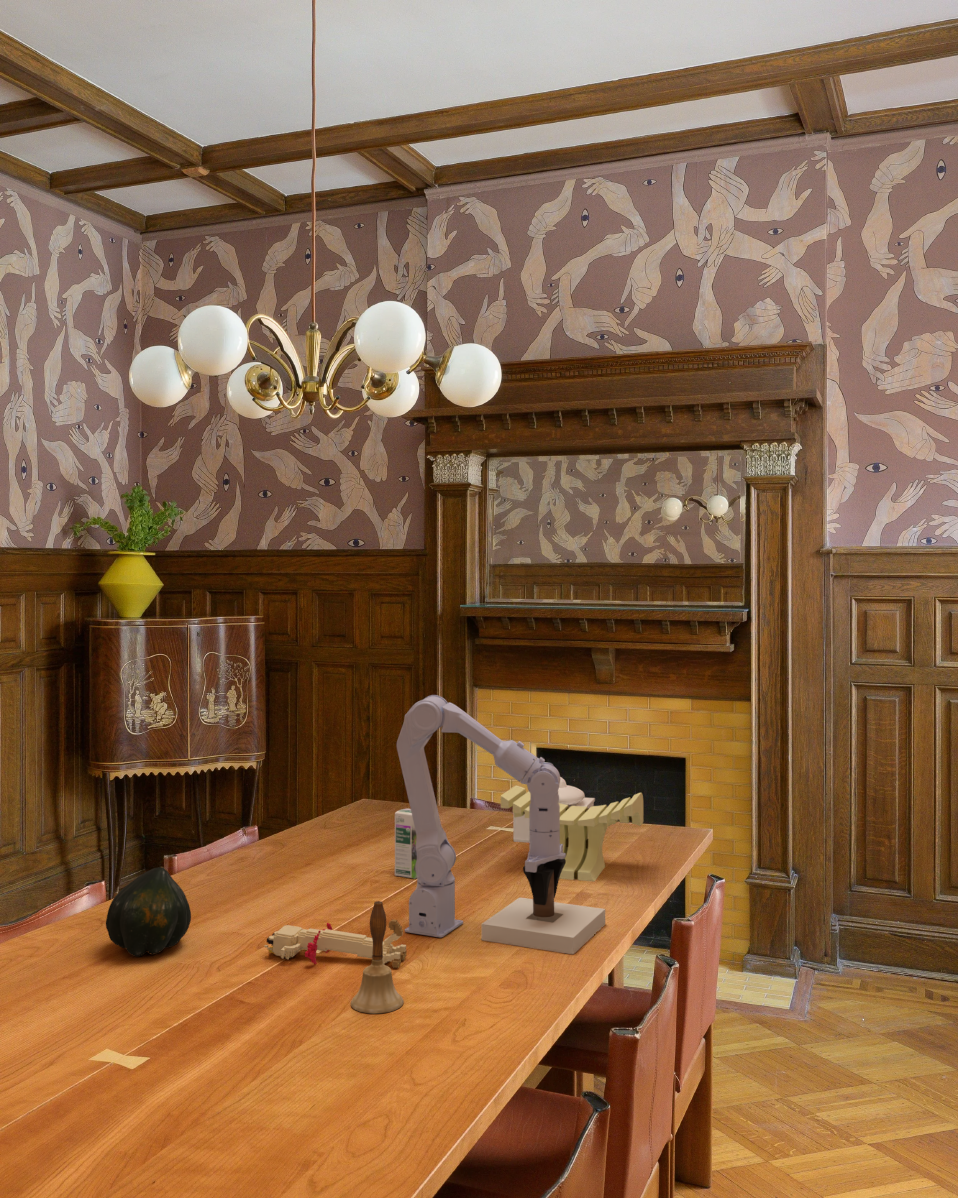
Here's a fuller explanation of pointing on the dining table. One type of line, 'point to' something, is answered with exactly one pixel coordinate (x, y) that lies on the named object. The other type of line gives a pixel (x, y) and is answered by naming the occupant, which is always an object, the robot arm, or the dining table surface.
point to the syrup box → (405, 844)
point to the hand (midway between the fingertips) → (544, 901)
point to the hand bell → (377, 973)
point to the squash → (149, 914)
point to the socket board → (544, 926)
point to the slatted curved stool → (581, 829)
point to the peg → (549, 907)
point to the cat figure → (334, 943)
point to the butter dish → (566, 796)
